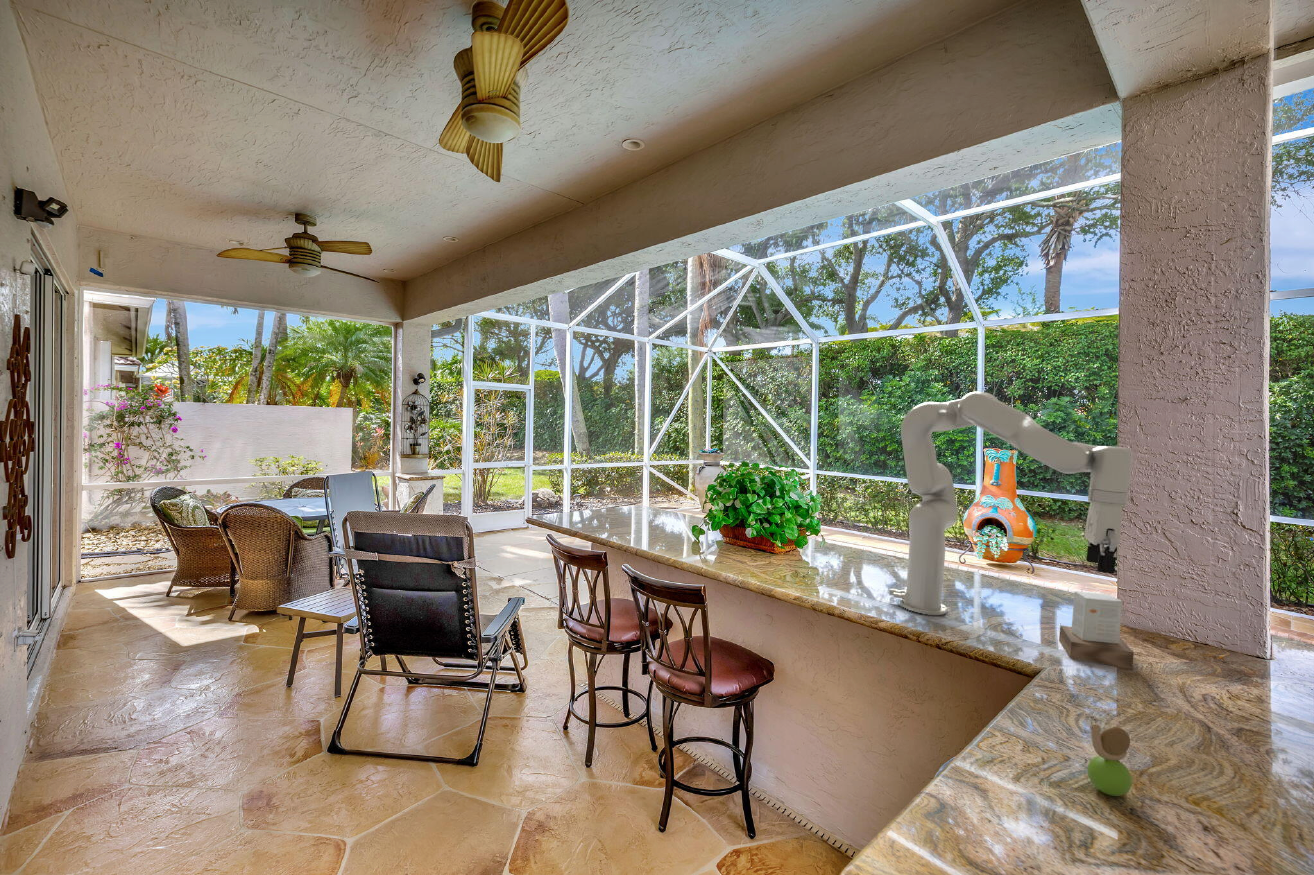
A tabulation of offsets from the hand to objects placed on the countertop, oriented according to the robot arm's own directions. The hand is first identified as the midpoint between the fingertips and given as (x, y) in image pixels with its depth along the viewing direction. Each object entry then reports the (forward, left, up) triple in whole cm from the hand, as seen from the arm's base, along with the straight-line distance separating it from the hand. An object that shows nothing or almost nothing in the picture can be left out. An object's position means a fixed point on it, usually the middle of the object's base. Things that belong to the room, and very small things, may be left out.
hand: (1099, 567), depth 143 cm
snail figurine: (-13, -64, -22) cm, 69 cm away
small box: (0, 0, -18) cm, 18 cm away
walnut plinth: (0, 0, -21) cm, 21 cm away
